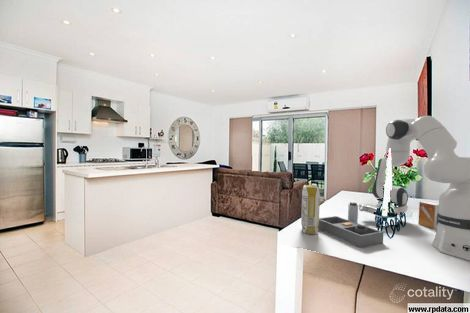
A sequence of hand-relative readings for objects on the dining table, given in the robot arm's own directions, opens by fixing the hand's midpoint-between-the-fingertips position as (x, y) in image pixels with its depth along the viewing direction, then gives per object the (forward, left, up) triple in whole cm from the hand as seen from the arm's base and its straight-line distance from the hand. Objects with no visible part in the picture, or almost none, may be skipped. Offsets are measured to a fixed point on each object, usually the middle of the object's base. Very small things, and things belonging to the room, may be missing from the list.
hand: (368, 211), depth 126 cm
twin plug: (-15, +25, -5) cm, 30 cm away
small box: (-14, -32, -7) cm, 35 cm away
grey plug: (0, +12, -7) cm, 14 cm away
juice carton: (+2, +39, -7) cm, 40 cm away
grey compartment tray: (-8, +25, -7) cm, 27 cm away
